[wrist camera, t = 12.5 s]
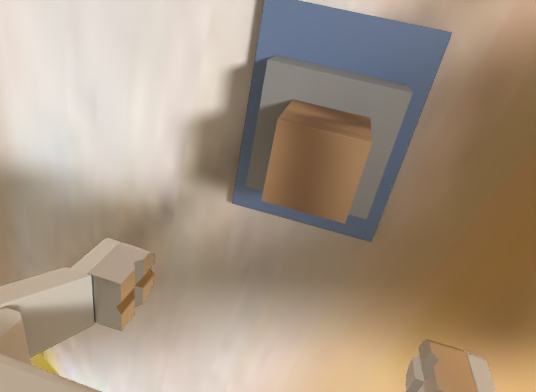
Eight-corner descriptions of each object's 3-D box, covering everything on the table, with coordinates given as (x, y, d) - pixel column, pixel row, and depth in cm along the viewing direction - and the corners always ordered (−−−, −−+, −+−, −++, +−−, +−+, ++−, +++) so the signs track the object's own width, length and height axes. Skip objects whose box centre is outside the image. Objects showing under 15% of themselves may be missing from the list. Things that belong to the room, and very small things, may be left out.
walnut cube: (370, 117, 23) (372, 142, 19) (347, 187, 26) (345, 223, 21) (293, 99, 24) (277, 118, 19) (277, 169, 26) (261, 200, 22)
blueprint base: (449, 32, 24) (463, 35, 20) (370, 236, 31) (372, 263, 28) (268, -6, 25) (253, -9, 22) (235, 199, 32) (220, 220, 29)
